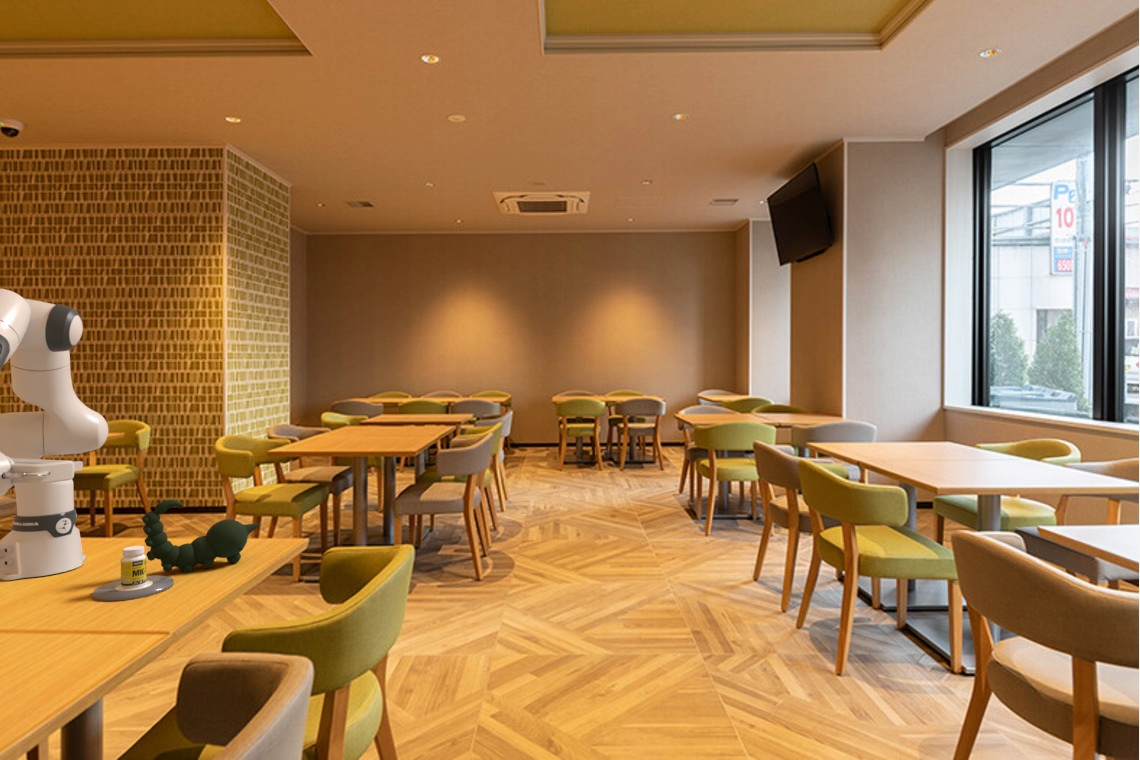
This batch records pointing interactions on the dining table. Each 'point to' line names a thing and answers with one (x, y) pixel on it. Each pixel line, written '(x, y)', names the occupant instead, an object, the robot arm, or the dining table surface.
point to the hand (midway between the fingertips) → (62, 464)
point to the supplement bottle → (133, 567)
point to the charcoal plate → (132, 589)
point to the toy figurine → (218, 541)
